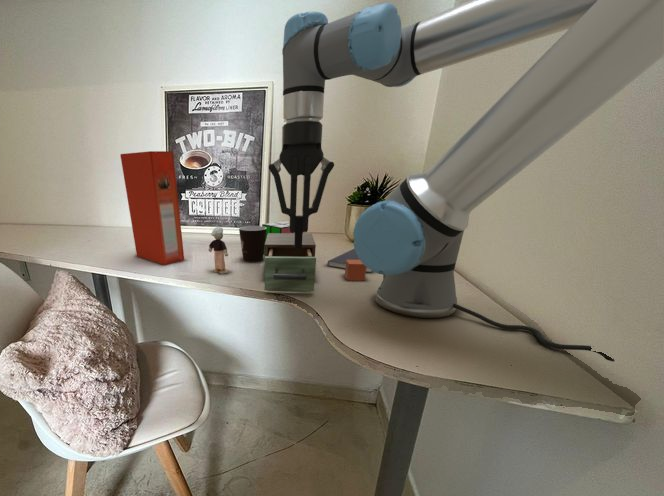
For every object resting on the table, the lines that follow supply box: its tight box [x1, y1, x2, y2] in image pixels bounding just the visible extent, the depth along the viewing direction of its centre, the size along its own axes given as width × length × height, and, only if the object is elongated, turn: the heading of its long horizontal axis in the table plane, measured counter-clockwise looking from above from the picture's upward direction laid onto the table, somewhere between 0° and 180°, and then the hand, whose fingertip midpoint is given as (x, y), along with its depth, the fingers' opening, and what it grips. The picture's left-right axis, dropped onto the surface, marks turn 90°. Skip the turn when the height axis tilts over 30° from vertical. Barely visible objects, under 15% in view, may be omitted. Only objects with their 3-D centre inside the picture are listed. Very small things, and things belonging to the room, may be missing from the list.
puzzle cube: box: [261, 220, 295, 255], centre depth 112 cm, size 10×10×10 cm
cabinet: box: [264, 232, 317, 257], centre depth 92 cm, size 16×13×10 cm
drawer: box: [264, 248, 317, 292], centre depth 80 cm, size 20×11×8 cm, turn 173°
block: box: [344, 260, 367, 282], centre depth 87 cm, size 4×4×4 cm
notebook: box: [327, 247, 373, 274], centre depth 103 cm, size 13×2×21 cm
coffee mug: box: [238, 225, 267, 263], centre depth 107 cm, size 12×9×10 cm
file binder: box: [119, 150, 185, 266], centre depth 105 cm, size 8×17×32 cm, turn 44°
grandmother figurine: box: [208, 226, 229, 275], centre depth 94 cm, size 8×4×13 cm, turn 56°
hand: (298, 247), depth 72 cm, fingers closed
